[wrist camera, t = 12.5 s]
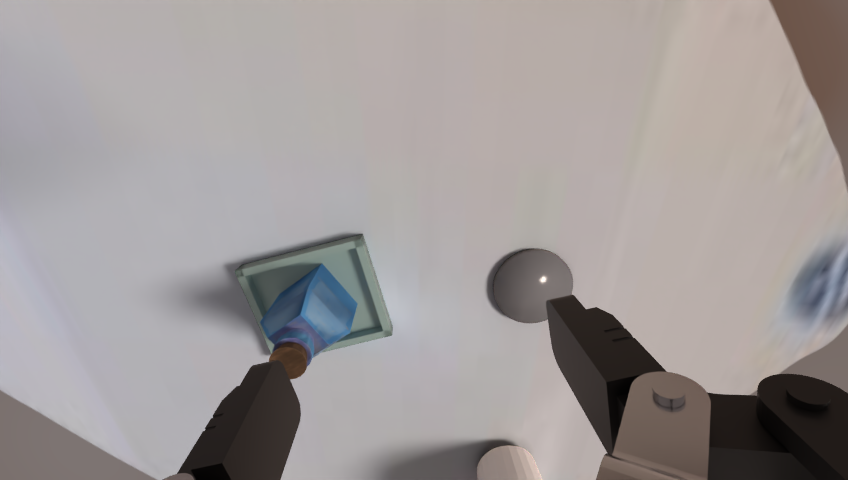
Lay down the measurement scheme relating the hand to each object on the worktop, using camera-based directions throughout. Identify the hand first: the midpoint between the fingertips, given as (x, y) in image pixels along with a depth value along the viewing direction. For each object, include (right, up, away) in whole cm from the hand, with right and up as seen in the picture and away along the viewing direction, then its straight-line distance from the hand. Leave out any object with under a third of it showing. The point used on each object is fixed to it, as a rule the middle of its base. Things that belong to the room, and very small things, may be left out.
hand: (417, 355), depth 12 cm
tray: (-12, -3, +34) cm, 36 cm away
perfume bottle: (-12, -3, +33) cm, 35 cm away
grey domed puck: (+13, -2, +34) cm, 36 cm away
